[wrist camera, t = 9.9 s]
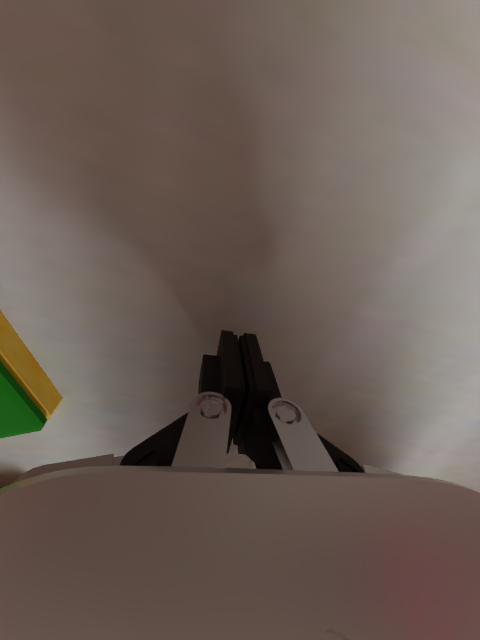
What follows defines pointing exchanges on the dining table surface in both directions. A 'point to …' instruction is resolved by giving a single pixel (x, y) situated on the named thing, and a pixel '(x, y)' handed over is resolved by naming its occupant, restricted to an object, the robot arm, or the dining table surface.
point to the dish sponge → (22, 387)
